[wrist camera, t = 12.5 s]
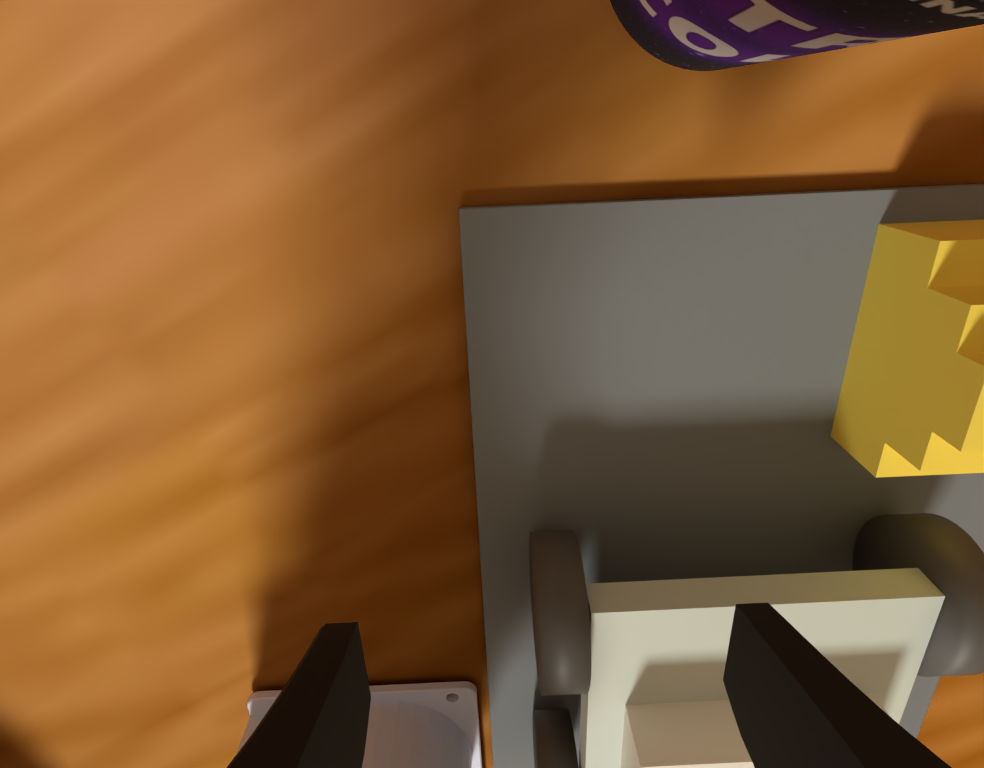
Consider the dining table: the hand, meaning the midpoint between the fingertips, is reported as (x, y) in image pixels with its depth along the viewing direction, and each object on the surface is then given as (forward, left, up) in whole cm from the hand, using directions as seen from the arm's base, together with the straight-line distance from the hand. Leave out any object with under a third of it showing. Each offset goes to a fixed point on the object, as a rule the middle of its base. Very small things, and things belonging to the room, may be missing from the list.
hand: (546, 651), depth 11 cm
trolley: (+7, -10, -9) cm, 15 cm away
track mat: (+8, -6, -9) cm, 14 cm away
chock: (+13, +3, -9) cm, 16 cm away
